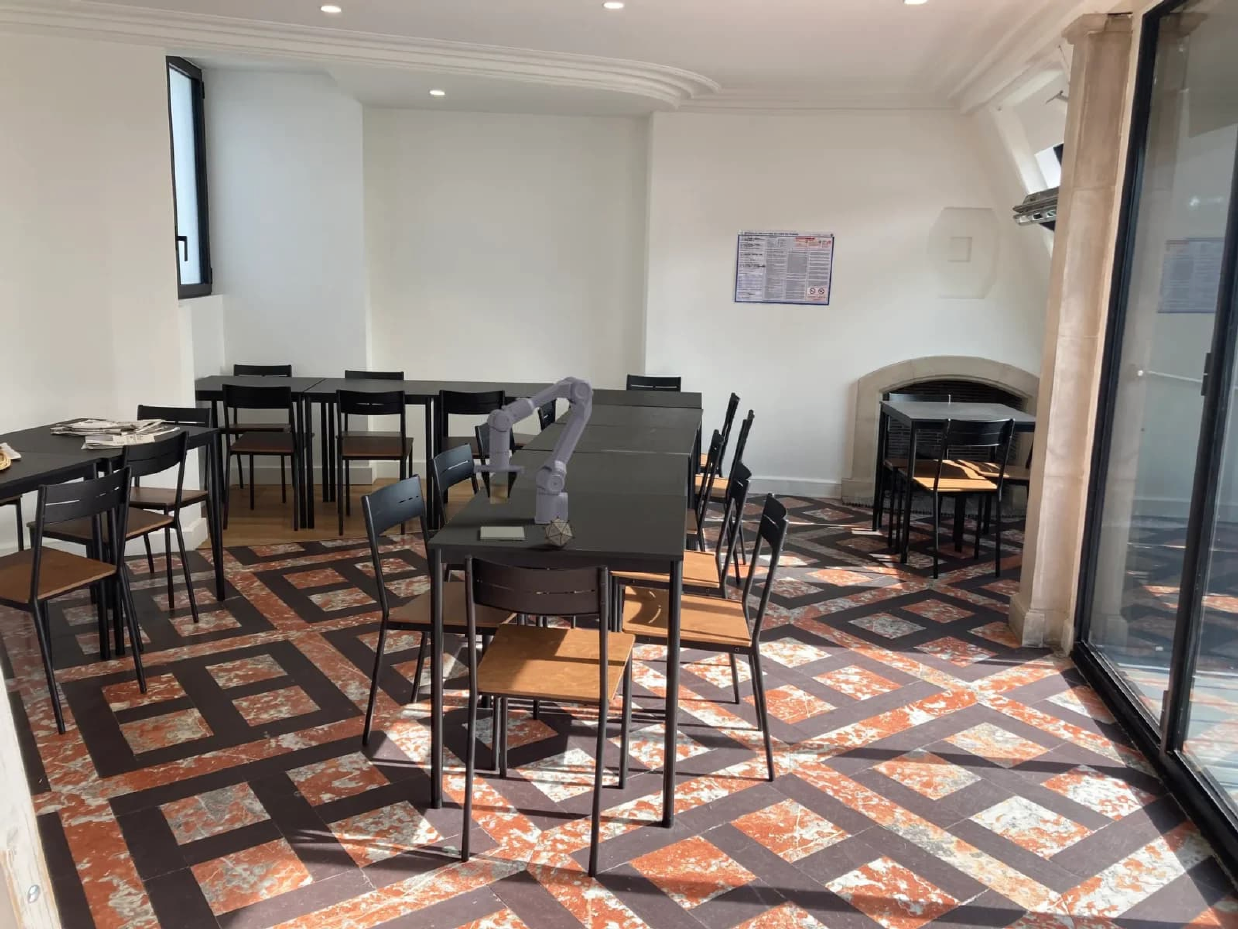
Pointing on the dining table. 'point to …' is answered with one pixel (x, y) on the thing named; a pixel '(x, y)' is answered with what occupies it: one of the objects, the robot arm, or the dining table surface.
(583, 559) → the dining table surface
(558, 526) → the game die
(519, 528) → the sage tile
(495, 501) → the maple block
